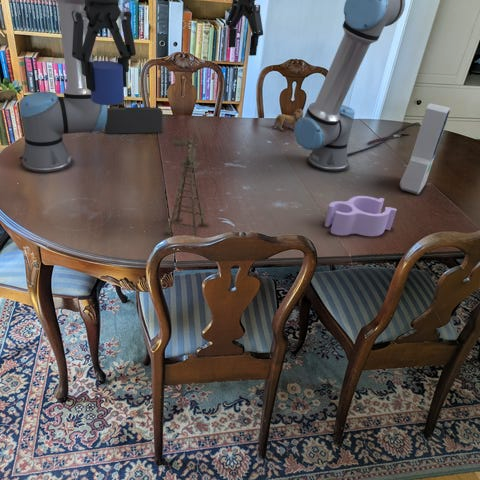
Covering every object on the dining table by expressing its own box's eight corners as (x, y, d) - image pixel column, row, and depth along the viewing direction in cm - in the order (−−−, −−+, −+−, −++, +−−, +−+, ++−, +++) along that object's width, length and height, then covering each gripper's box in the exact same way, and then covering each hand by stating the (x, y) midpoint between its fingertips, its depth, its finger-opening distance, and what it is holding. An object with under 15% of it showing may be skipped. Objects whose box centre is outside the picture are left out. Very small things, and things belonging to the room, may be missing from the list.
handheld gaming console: (161, 130, 196) (161, 106, 191) (162, 132, 194) (162, 108, 189) (105, 131, 189) (103, 107, 184) (105, 134, 187) (104, 109, 181)
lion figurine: (298, 126, 216) (301, 107, 212) (303, 130, 212) (306, 111, 207) (269, 127, 212) (271, 107, 207) (273, 131, 207) (276, 111, 203)
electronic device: (417, 196, 165) (445, 112, 149) (397, 189, 168) (422, 107, 152) (426, 184, 174) (453, 104, 158) (406, 178, 177) (431, 99, 161)
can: (125, 105, 114) (123, 69, 109) (91, 105, 112) (88, 68, 107) (122, 95, 120) (121, 61, 116) (90, 95, 118) (88, 60, 114)
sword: (406, 132, 223) (406, 130, 222) (411, 134, 221) (412, 132, 220) (362, 144, 207) (363, 141, 206) (368, 146, 205) (368, 143, 204)
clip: (337, 240, 135) (342, 219, 131) (318, 218, 145) (322, 198, 141) (395, 233, 141) (402, 213, 137) (373, 213, 151) (378, 194, 147)
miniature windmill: (195, 240, 128) (201, 135, 112) (166, 234, 129) (167, 130, 113) (204, 224, 136) (210, 124, 119) (176, 219, 137) (178, 119, 120)
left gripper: (62, -17, 94) (73, 97, 106) (150, -15, 106) (151, 87, 118) (46, -22, 98) (59, 88, 111) (133, -19, 111) (135, 79, 123)
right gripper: (219, -19, 168) (215, 44, 180) (260, -9, 151) (253, 59, 163) (236, -18, 172) (231, 43, 183) (278, -9, 155) (270, 58, 167)
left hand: (107, 87), depth 114 cm, fingers closed on can, 8 cm apart
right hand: (241, 51), depth 173 cm, fingers open, 13 cm apart
